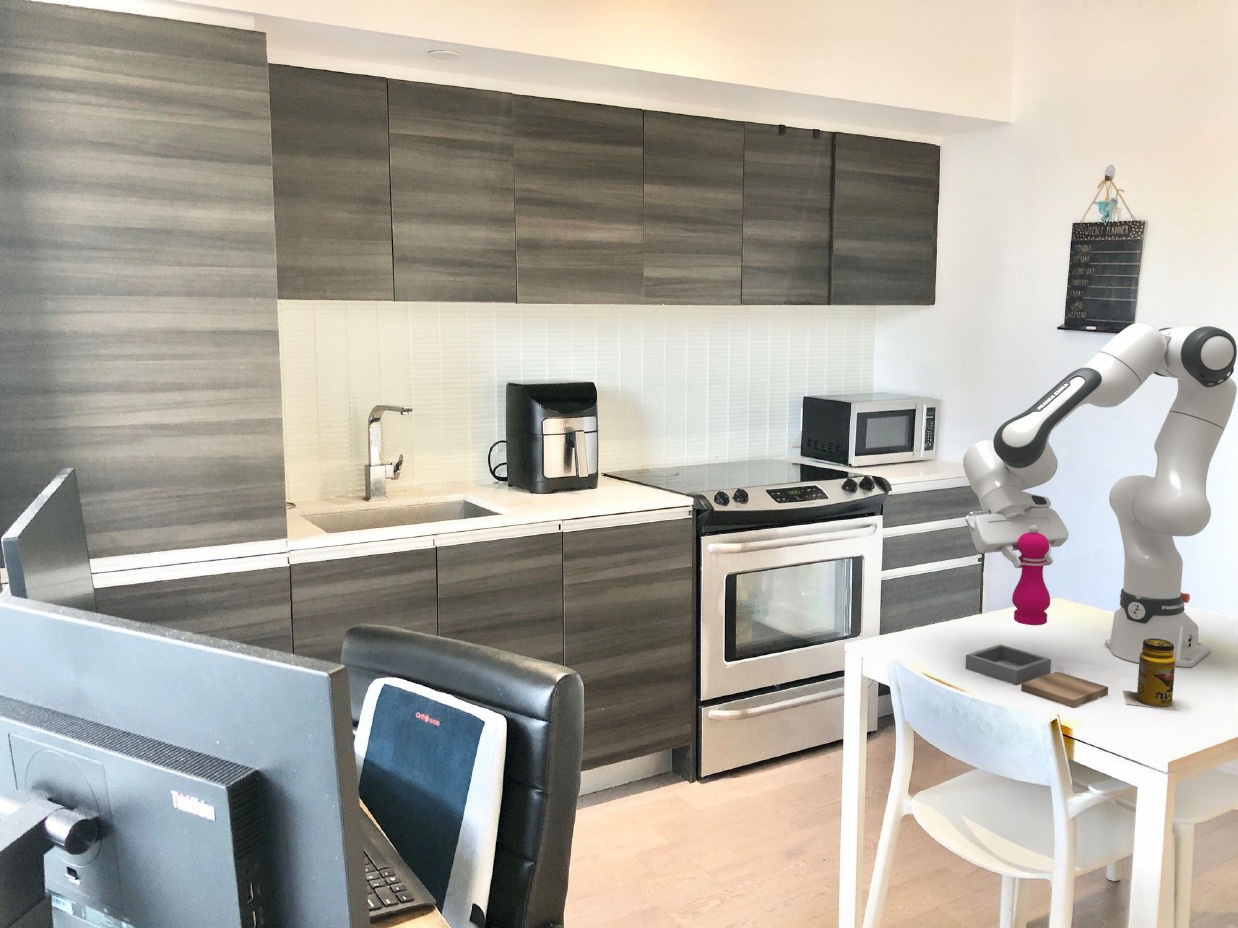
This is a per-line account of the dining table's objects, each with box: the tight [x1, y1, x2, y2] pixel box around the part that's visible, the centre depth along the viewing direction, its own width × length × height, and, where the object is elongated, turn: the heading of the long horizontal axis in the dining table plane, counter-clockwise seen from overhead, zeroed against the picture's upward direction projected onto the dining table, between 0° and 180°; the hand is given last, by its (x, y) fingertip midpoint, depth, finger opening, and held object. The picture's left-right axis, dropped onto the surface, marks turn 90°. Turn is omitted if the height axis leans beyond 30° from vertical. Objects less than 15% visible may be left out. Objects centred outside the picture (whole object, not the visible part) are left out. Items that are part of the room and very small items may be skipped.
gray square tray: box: [965, 644, 1052, 686], centre depth 209 cm, size 12×12×3 cm
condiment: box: [1122, 638, 1177, 711], centre depth 191 cm, size 7×8×12 cm
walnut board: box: [1020, 671, 1109, 709], centre depth 197 cm, size 12×11×2 cm
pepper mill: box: [1011, 525, 1051, 626], centre depth 202 cm, size 7×7×20 cm
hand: (1034, 565), depth 201 cm, fingers closed on pepper mill, 5 cm apart
